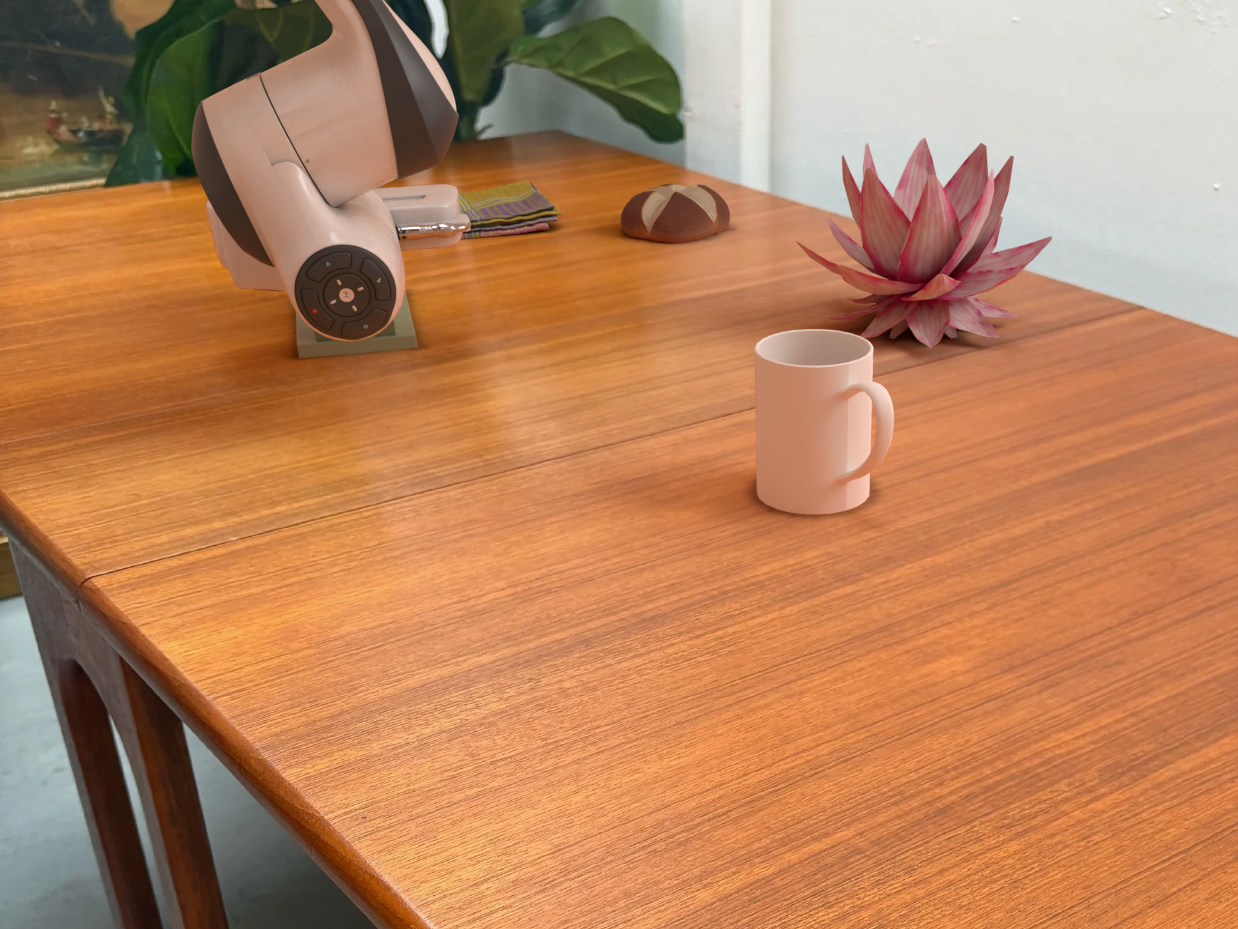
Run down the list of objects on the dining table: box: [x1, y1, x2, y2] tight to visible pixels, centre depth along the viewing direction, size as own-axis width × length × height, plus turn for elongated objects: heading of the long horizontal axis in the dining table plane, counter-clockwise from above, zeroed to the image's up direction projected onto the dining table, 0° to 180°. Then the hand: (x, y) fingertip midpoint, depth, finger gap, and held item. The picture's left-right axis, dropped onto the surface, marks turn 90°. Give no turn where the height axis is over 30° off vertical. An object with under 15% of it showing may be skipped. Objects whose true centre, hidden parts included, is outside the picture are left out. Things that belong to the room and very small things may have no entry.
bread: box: [620, 183, 731, 244], centre depth 164 cm, size 11×11×5 cm
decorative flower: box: [795, 137, 1053, 349], centre depth 132 cm, size 21×21×15 cm
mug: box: [753, 328, 895, 516], centre depth 101 cm, size 12×8×10 cm, turn 34°
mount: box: [295, 291, 418, 359], centre depth 134 cm, size 18×10×14 cm, turn 16°
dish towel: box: [458, 180, 563, 240], centre depth 168 cm, size 18×24×3 cm
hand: (335, 199), depth 129 cm, fingers closed on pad, 3 cm apart
